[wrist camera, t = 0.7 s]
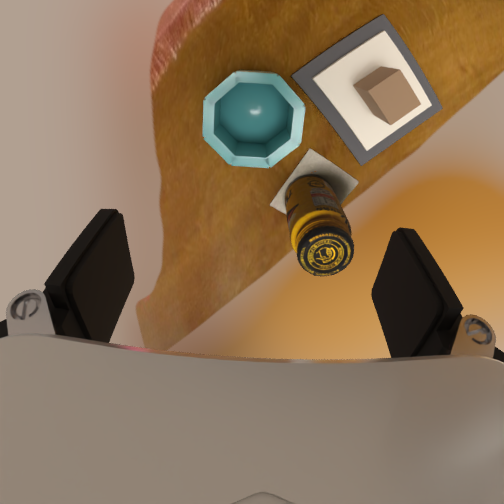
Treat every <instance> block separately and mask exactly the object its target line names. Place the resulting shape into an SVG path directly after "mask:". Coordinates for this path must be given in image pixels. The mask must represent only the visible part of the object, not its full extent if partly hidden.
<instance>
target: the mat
mask: <svg viewBox="0 0 504 504" xmlns="http://www.w3.org/2000/svg"><path fill="white" fill-rule="evenodd" d="M381 31H386V33H387V34H388V36H389V37H390V38H391V40H392V41H393V43H394V44H395V46H396V47H397V48H398V50H399V51H400V53H401V54H402V56H403V57H404V59H405V61H406V62H407V64H408V65H409V67H410V68H411V70H412V72H413V73H414V75H415V76H416V78H417V80H418V81H419V83H420V85H421V87H422V88H423V90H424V92H425V94H426V95H427V97H428V99H429V101H430V103H431V104H432V106H430V107H429V108H427V109H426V110H424V111H423V112H421V113H420V114H419V115H417V116H416V117H414V118H413V119H411V120H410V121H409V122H407V123H406V124H404V125H403V126H401V127H400V128H399V129H397V130H396V131H394V132H393V133H392V134H390V135H389V136H387V137H386V138H384V139H383V140H382V141H380V142H379V143H377V144H376V145H375V146H373V147H372V148H370V149H369V150H368V151H366V150H365V149H364V147H363V146H362V144H361V143H360V141H359V140H358V138H357V137H356V136H355V134H354V133H353V131H352V130H351V129H350V127H349V126H348V124H347V123H346V122H345V120H344V119H343V118H342V116H341V115H340V114H339V112H338V111H337V110H336V108H335V107H334V106H333V105H332V103H331V102H330V101H329V99H328V98H327V97H326V96H325V94H324V93H323V92H322V91H321V89H320V88H319V87H318V86H317V84H316V83H315V82H314V81H313V80H312V78H313V77H314V76H316V75H317V74H319V73H320V72H321V71H323V70H324V69H326V68H327V67H328V66H330V65H331V64H333V63H334V62H336V61H337V60H339V59H340V58H341V57H343V56H344V55H346V54H347V53H349V52H350V51H352V50H353V49H355V48H356V47H358V46H359V45H361V44H362V43H364V42H366V41H367V40H369V39H370V38H372V37H373V36H375V35H377V34H378V33H380V32H381ZM291 77H292V78H293V79H294V80H295V81H296V82H297V83H298V85H299V86H300V87H301V88H302V89H303V90H304V92H305V93H306V94H307V95H308V96H309V98H310V99H311V100H312V101H313V103H314V104H315V105H316V106H317V107H318V109H319V110H320V111H321V112H322V114H323V115H324V116H325V118H326V119H327V120H328V121H329V123H330V124H331V125H332V127H333V128H334V129H335V131H336V132H337V133H338V134H339V136H340V137H341V139H342V140H343V141H344V143H345V144H346V145H347V147H348V148H349V149H350V151H351V152H352V154H353V155H354V156H355V158H356V159H357V161H358V162H359V164H360V165H361V166H362V165H363V164H365V163H366V162H368V161H369V160H370V159H372V158H373V157H375V156H376V155H377V154H379V153H380V152H382V151H383V150H384V149H386V148H387V147H389V146H390V145H392V144H393V143H394V142H396V141H397V140H399V139H400V138H401V137H403V136H404V135H406V134H407V133H409V132H410V131H411V130H413V129H414V128H416V127H417V126H418V125H420V124H421V123H423V122H424V121H426V120H427V119H428V118H430V117H431V116H433V115H434V114H435V113H437V112H438V111H440V110H441V109H443V108H442V106H441V104H440V102H439V100H438V98H437V96H436V94H435V93H434V91H433V89H432V87H431V85H430V84H429V82H428V80H427V78H426V77H425V75H424V73H423V72H422V70H421V68H420V67H419V65H418V63H417V62H416V60H415V58H414V57H413V55H412V54H411V52H410V51H409V49H408V48H407V46H406V45H405V43H404V42H403V40H402V39H401V37H400V36H399V34H398V33H397V32H396V30H395V29H394V27H393V26H392V25H391V23H390V22H389V21H388V19H387V18H386V17H385V15H384V14H382V15H380V16H379V17H377V18H375V19H374V20H372V21H370V22H369V23H367V24H366V25H364V26H362V27H361V28H359V29H358V30H356V31H355V32H353V33H351V34H350V35H348V36H347V37H345V38H344V39H342V40H341V41H339V42H338V43H336V44H335V45H333V46H332V47H330V48H329V49H327V50H326V51H325V52H323V53H322V54H320V55H319V56H317V57H316V58H315V59H313V60H312V61H310V62H309V63H308V64H306V65H305V66H303V67H302V68H301V69H299V70H298V71H297V72H295V73H294V74H293V75H291Z"/></svg>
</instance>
